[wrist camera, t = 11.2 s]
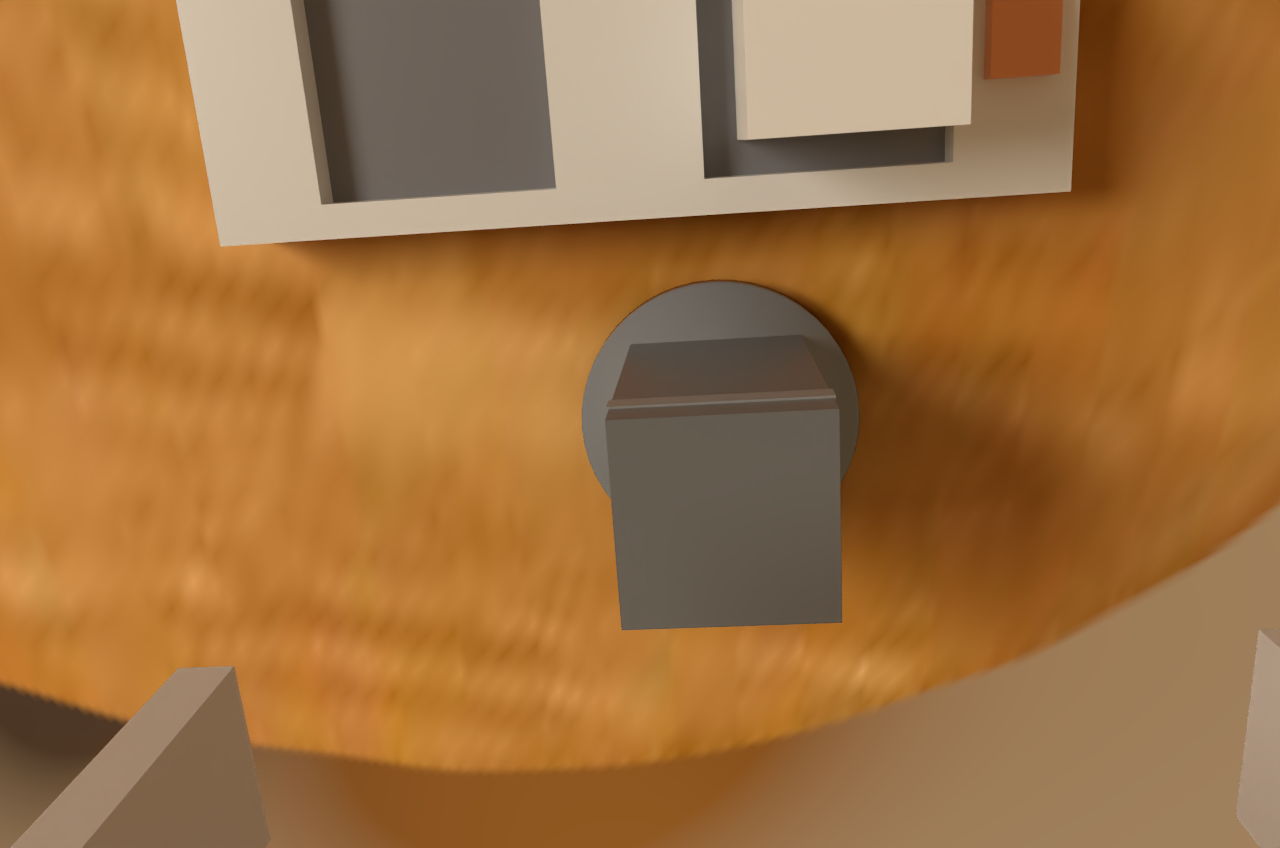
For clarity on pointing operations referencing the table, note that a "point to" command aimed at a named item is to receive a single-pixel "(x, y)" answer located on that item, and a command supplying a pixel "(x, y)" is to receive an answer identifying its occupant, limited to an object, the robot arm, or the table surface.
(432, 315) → the table surface
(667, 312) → the grey disc
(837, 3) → the white plug
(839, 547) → the block
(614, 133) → the strip
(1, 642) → the table surface
